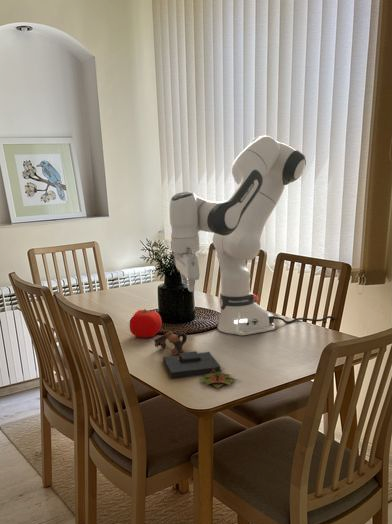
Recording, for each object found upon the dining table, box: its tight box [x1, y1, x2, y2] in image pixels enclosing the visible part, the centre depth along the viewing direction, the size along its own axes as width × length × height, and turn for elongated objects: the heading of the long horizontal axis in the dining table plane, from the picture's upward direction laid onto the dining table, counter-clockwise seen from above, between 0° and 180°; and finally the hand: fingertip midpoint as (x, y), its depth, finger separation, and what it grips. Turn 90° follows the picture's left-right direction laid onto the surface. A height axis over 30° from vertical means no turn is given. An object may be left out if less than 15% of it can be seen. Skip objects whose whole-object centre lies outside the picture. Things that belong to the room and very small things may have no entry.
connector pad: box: [178, 350, 201, 363], centre depth 182 cm, size 6×6×3 cm
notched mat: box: [162, 351, 222, 379], centre depth 179 cm, size 16×14×2 cm
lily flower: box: [197, 366, 239, 389], centre depth 167 cm, size 12×12×5 cm
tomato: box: [129, 308, 163, 339], centre depth 208 cm, size 11×13×10 cm
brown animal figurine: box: [153, 330, 188, 356], centre depth 194 cm, size 12×10×8 cm
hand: (188, 287), depth 179 cm, fingers open, 8 cm apart
